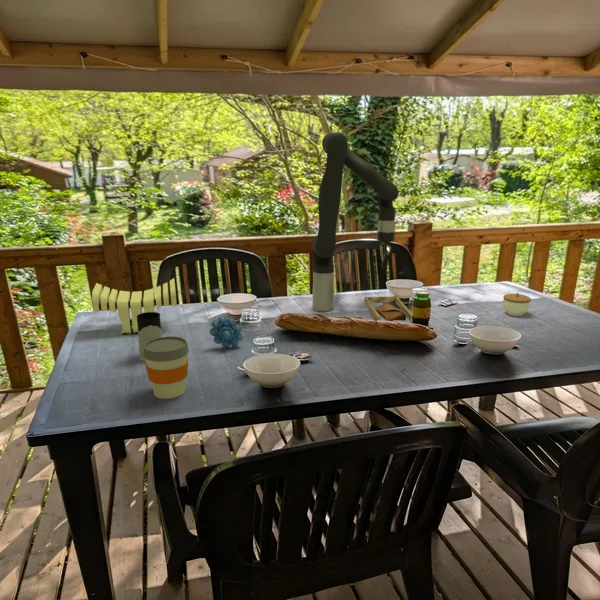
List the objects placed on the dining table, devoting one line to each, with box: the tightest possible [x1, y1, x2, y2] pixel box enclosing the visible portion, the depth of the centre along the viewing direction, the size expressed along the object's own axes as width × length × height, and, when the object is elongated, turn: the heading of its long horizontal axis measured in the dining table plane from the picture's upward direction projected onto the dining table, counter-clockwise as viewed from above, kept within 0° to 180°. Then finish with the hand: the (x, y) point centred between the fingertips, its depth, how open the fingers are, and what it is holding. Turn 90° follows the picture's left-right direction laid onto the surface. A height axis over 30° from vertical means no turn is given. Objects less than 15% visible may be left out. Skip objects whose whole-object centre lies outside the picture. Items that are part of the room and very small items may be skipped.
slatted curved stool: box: [91, 277, 178, 335], centre depth 194 cm, size 30×16×18 cm, turn 105°
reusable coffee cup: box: [143, 335, 190, 400], centre depth 142 cm, size 13×13×15 cm
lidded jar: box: [502, 292, 532, 317], centre depth 211 cm, size 11×11×9 cm
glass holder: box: [137, 311, 163, 363], centre depth 169 cm, size 9×14×15 cm, turn 22°
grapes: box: [209, 316, 244, 349], centre depth 174 cm, size 12×7×12 cm, turn 100°
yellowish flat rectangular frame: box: [363, 295, 413, 322], centre depth 217 cm, size 15×29×2 cm, turn 3°
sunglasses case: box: [374, 302, 407, 322], centre depth 212 cm, size 18×7×7 cm
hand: (384, 268), depth 222 cm, fingers closed
